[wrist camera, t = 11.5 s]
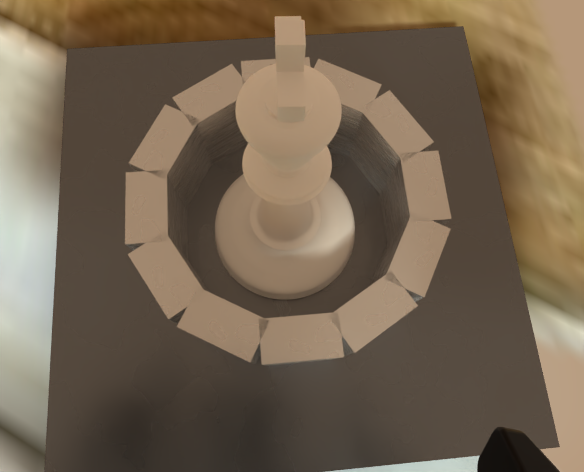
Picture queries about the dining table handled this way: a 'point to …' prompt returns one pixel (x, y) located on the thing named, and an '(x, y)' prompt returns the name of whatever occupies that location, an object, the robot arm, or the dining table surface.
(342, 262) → the chess piece
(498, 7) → the dining table surface
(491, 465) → the robot arm
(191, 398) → the lens mount
